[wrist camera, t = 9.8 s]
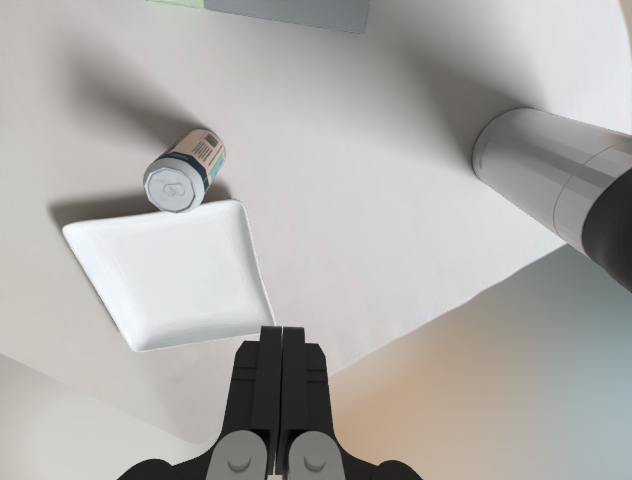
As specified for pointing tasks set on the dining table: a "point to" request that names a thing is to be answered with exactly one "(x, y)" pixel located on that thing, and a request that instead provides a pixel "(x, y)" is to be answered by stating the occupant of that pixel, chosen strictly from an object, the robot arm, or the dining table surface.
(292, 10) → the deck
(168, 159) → the beer can
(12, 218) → the dining table surface
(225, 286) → the salad plate
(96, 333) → the dining table surface
